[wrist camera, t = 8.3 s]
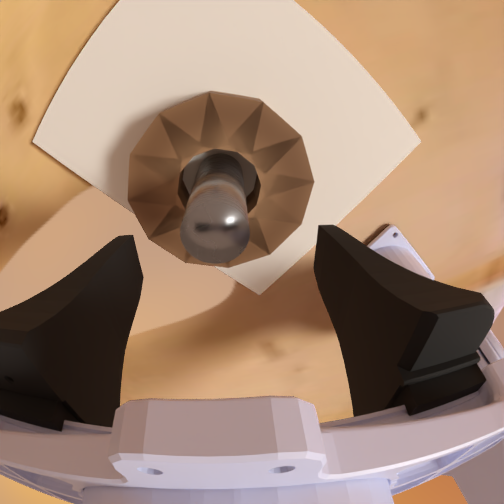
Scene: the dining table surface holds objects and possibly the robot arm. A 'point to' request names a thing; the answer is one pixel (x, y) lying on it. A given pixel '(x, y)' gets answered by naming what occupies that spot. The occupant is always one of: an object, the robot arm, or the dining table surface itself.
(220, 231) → the peg
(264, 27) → the mat
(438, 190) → the dining table surface
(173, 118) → the ring
